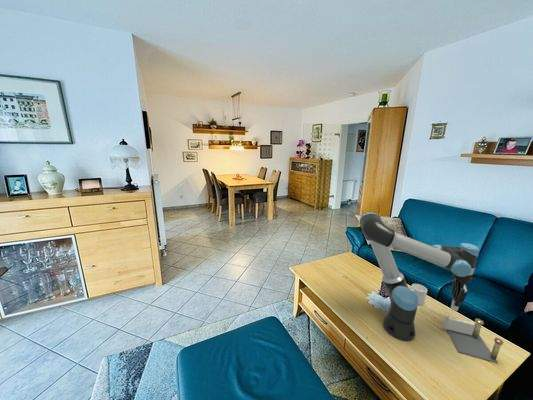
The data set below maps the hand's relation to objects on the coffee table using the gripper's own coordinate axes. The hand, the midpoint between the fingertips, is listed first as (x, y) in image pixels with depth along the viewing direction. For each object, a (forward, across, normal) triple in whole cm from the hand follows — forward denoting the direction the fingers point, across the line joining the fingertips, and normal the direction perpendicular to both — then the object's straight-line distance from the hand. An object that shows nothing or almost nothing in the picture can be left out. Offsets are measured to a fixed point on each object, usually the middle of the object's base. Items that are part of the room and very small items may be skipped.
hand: (454, 309), depth 122 cm
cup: (+10, +15, +15) cm, 23 cm away
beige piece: (+9, -6, -1) cm, 11 cm away
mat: (+10, -12, -4) cm, 16 cm away
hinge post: (+10, -6, -8) cm, 15 cm away
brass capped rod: (+10, -18, -10) cm, 23 cm away
